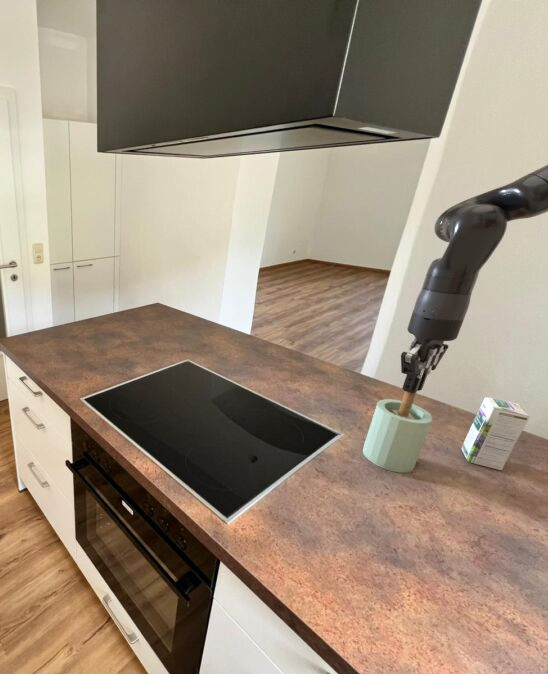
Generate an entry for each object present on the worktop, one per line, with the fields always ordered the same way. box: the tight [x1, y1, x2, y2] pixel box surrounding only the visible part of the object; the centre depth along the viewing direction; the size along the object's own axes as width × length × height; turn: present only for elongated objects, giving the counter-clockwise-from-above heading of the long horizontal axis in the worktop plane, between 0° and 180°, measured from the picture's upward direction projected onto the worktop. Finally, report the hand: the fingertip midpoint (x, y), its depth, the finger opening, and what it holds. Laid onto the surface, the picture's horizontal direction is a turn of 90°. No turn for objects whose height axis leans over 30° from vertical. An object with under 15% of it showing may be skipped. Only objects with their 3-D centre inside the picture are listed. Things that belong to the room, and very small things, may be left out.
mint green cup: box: [362, 398, 434, 474], centre depth 81 cm, size 9×9×13 cm
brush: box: [391, 372, 424, 420], centre depth 77 cm, size 3×3×15 cm
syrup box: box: [461, 397, 531, 471], centre depth 80 cm, size 6×6×14 cm
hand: (411, 389), depth 76 cm, fingers closed on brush, 2 cm apart
